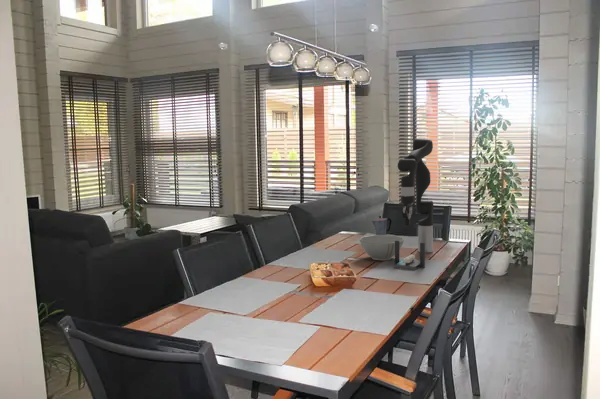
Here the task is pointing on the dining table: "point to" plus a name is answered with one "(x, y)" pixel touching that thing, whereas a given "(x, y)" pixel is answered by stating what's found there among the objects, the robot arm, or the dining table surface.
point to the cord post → (422, 255)
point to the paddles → (409, 258)
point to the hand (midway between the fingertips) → (407, 225)
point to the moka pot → (381, 225)
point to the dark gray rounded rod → (396, 252)
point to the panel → (408, 265)
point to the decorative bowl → (380, 246)
